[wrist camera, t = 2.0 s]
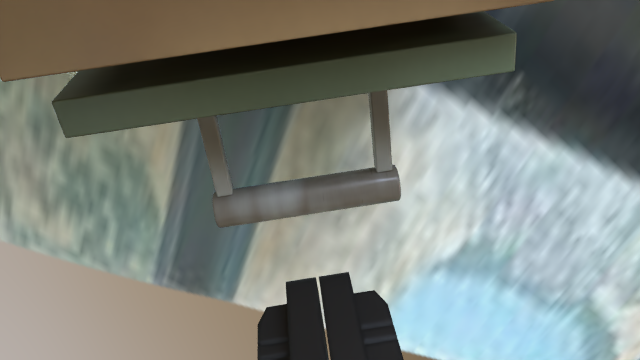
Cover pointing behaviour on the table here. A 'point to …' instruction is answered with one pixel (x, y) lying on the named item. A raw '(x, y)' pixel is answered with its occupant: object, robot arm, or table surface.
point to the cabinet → (186, 27)
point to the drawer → (289, 100)
